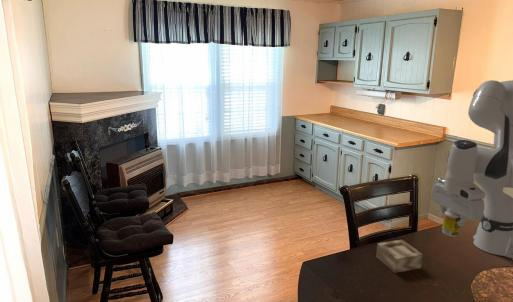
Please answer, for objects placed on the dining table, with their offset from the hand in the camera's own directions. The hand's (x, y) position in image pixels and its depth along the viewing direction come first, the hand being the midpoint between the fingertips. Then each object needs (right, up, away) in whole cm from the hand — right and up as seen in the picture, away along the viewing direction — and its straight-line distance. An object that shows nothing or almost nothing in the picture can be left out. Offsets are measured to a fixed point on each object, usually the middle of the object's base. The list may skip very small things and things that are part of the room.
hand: (452, 221), depth 129 cm
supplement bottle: (0, -5, +1) cm, 5 cm away
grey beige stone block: (-15, -19, +12) cm, 27 cm away
